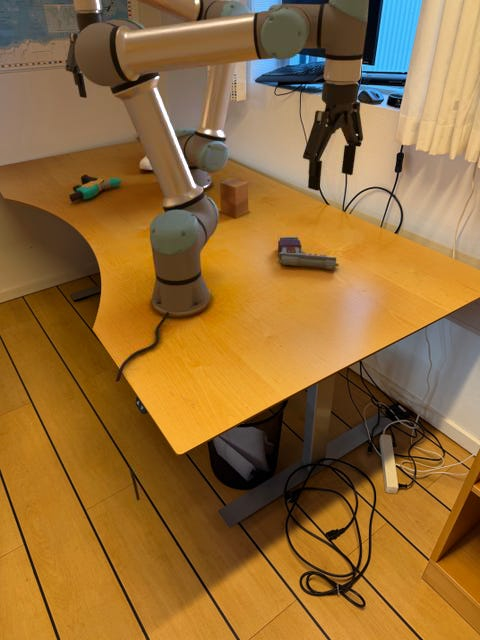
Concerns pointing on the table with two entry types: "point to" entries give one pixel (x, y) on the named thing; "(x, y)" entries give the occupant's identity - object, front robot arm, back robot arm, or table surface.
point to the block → (234, 197)
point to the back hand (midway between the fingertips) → (102, 93)
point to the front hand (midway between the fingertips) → (330, 181)
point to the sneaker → (145, 164)
